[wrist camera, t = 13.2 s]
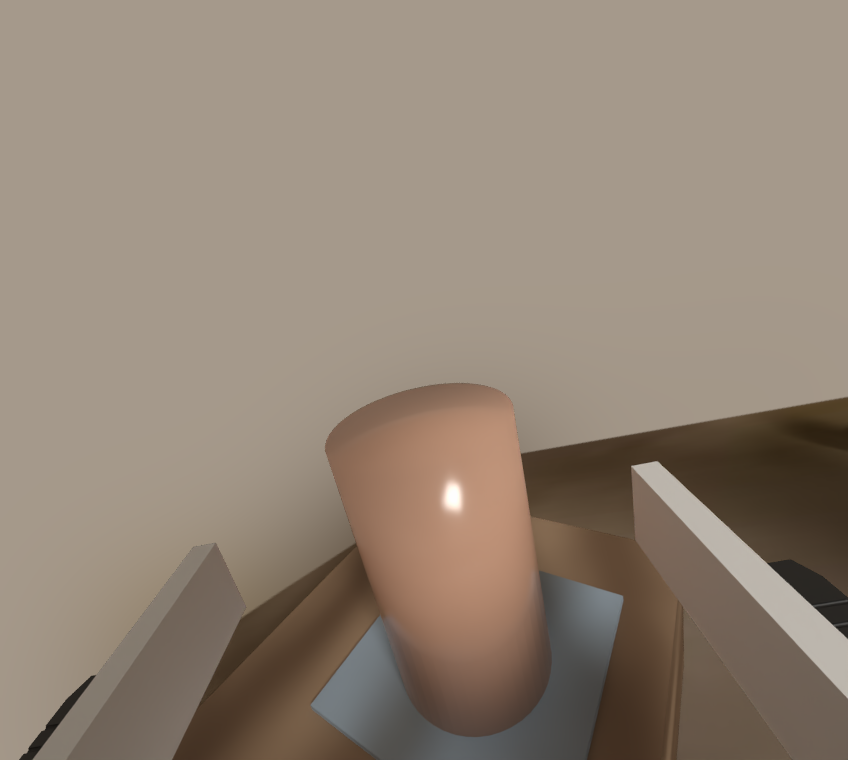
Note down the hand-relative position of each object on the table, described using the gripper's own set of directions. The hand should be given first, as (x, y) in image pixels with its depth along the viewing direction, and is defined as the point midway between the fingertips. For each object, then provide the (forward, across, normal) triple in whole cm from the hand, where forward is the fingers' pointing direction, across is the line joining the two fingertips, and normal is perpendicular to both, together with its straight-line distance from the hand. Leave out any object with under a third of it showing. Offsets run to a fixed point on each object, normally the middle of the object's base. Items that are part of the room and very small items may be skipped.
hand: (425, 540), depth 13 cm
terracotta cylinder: (+2, 0, -8) cm, 8 cm away
